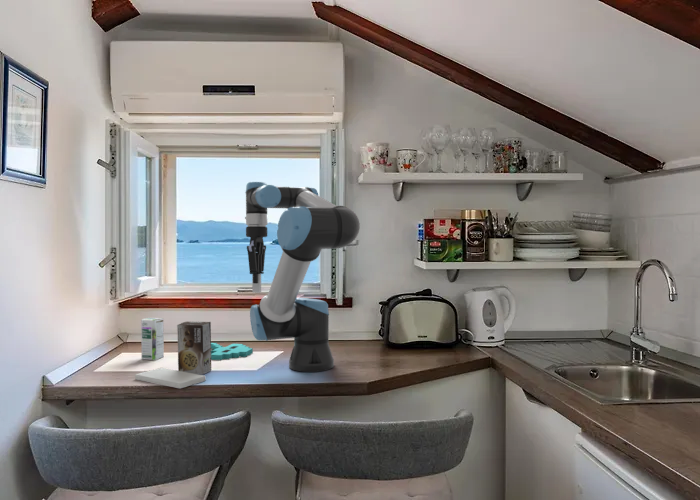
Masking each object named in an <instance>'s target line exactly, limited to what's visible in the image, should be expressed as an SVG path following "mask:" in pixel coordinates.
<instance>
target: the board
mask: <svg viewBox="0 0 700 500" xmlns="http://www.w3.org/2000/svg"><path fill="white" fill-rule="evenodd" d="M134 375H135V376H134V378H135V379H134V380H137V381H142V382H147V383H152V384H156V385H161V386H165V387H171V388H176V389H183V388H186V387H189V386H194V385H196V384H199V383H203V382H205V381H206V379H207V378H206V375H205V374H193V373H188V372H182V371H178V369H177V370H176V369H170V368H167V367H166V368H165V367H160V368H155V369H151V370H148V371H143V372H140V373H135V374H134Z"/></svg>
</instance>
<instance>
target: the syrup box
mask: <svg viewBox="0 0 700 500" xmlns="http://www.w3.org/2000/svg"><path fill="white" fill-rule="evenodd" d="M164 320H165V319H164V318H160V317H145V318H142V319H141V320H140V321H141V322H140V323H141V325H140V326H141V330H140V331H141V360H150V361H156V360H159V359H162V358H163V357H164V355H165V354H164V353H165V351H164V349H165V348H164V340H165V339H164V330H165V329H164V324H165V323H164V322H165V321H164Z"/></svg>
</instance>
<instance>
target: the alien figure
mask: <svg viewBox="0 0 700 500" xmlns="http://www.w3.org/2000/svg"><path fill="white" fill-rule="evenodd" d="M253 352H254V349H253V348H251V347H250V346H247V345H245V344H243V343H231V344H229V345H227V346H223V345H220V343H219V344H218V342H211V361H215V360H216V361H222V360H231V359H232V358H233V359H234V358H236V359H239V358H241V357H242V358H243V357H248V356H250V355H251V354H253Z"/></svg>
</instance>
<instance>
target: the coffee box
mask: <svg viewBox="0 0 700 500" xmlns="http://www.w3.org/2000/svg"><path fill="white" fill-rule="evenodd" d="M211 325H212V322H211V321H184V322H181V323H179V324H177V325H176V328H177V329H176V331H177V366H178V367H177V368H178V369H177V371H182V372H188V373H193V374H198V375H205V374H207V373H209V372H211V371H212V360H211V350H212V348H211V343H212V334H211V333H212V332H211V331H212V329H211Z"/></svg>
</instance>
